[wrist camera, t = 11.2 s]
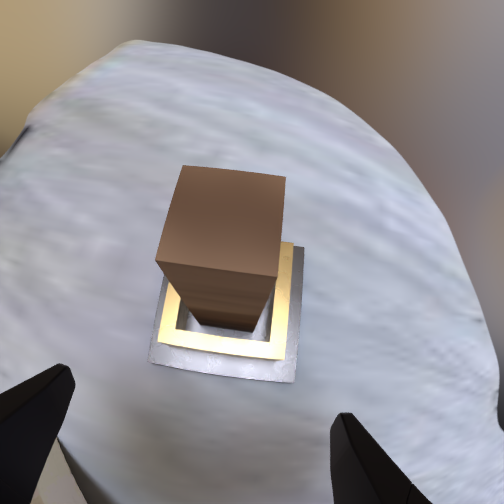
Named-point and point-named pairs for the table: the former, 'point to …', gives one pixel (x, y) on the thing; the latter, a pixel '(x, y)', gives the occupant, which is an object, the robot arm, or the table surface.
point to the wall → (57, 481)
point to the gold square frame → (235, 331)
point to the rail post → (223, 244)
